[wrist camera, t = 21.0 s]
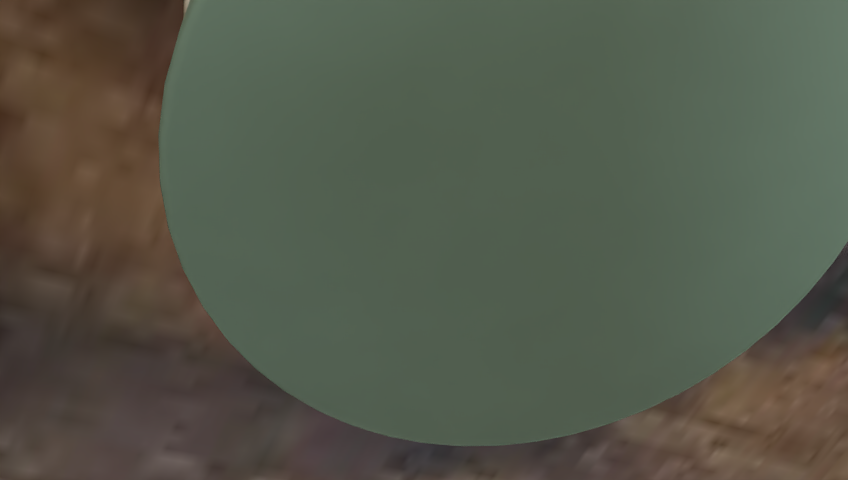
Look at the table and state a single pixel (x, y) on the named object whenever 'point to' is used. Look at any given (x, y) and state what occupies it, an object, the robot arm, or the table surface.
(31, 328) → the table surface
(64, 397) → the table surface
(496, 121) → the lid
